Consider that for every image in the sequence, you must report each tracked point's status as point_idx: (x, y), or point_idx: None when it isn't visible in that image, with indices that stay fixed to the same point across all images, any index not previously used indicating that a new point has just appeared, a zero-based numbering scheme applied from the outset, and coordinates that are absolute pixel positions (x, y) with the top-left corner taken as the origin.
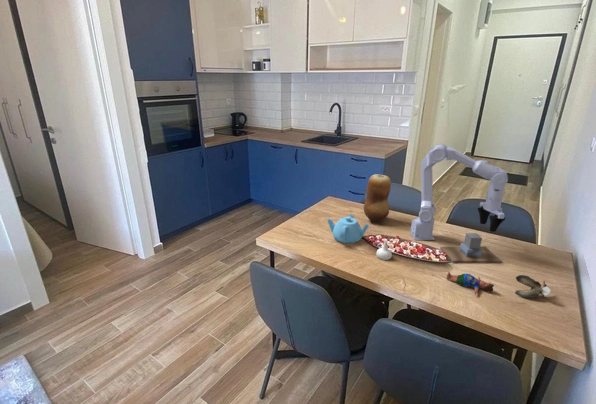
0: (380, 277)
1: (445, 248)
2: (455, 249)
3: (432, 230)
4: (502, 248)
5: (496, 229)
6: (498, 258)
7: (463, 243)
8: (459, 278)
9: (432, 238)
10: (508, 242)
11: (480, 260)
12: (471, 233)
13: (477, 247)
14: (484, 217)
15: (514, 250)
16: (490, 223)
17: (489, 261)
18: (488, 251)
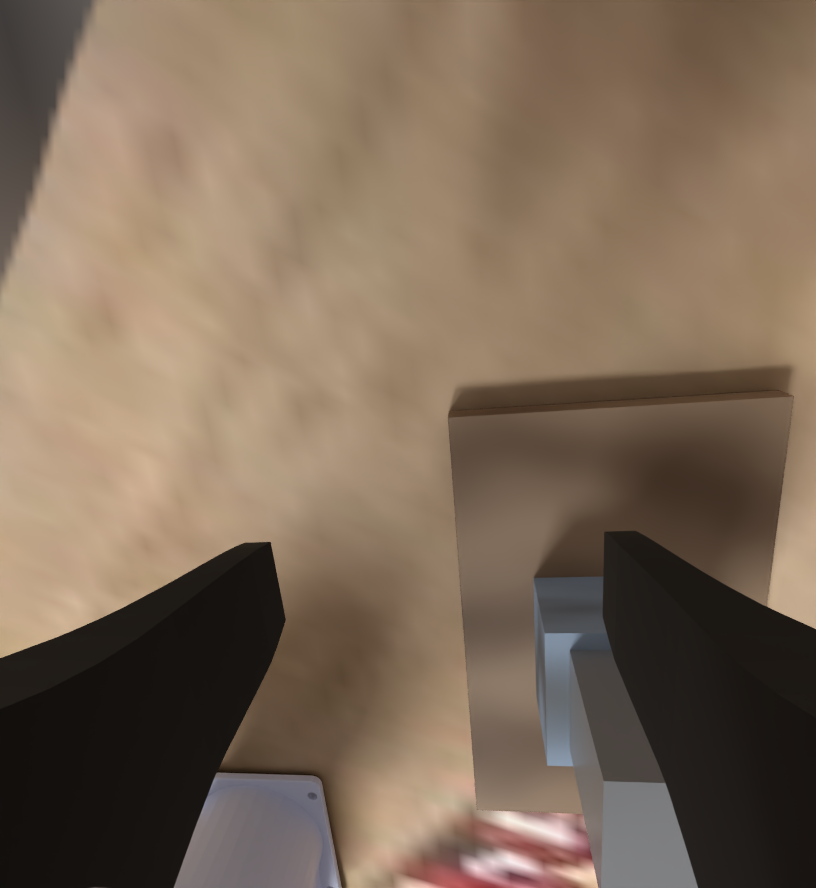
0: None
1: (511, 789)
2: (527, 723)
3: (266, 877)
4: (426, 192)
5: (664, 552)
6: (737, 406)
7: (563, 749)
8: None
9: (307, 797)
10: (237, 7)
11: None
12: (612, 843)
13: None
14: (202, 683)
15: (471, 44)
16: (678, 801)
17: (770, 519)
18: (566, 439)
